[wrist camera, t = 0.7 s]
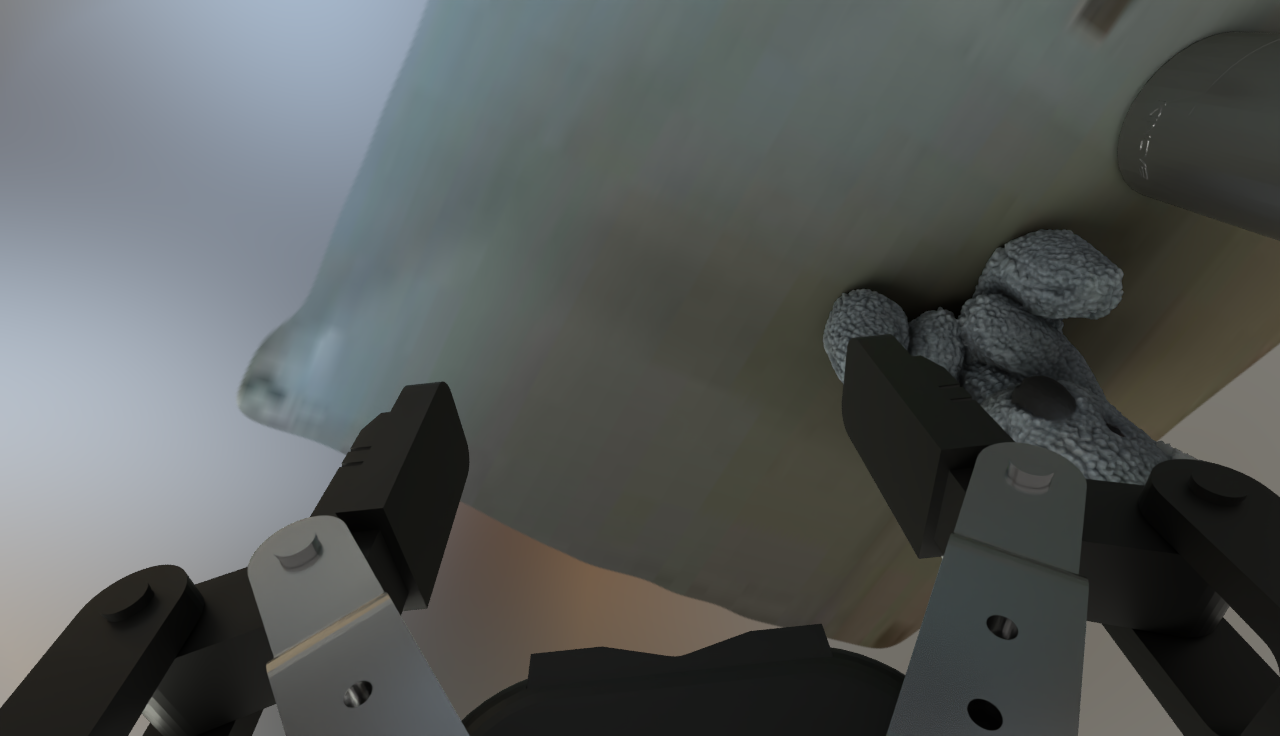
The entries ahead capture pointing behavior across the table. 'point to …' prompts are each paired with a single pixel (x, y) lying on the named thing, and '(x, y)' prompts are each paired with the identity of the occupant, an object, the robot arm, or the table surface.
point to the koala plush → (1022, 351)
